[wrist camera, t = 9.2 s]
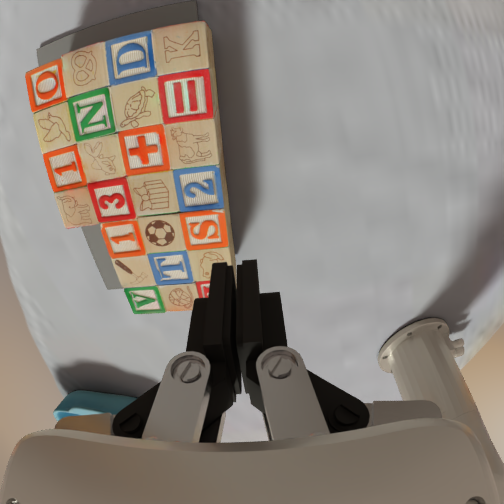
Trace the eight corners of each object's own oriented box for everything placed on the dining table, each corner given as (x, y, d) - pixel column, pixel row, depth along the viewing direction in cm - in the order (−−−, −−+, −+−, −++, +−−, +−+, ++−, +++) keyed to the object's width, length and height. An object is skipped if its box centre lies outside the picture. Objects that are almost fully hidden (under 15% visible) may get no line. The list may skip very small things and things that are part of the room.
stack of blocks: (239, 309, 25) (104, 316, 25) (238, 262, 31) (121, 273, 30) (204, 17, 13) (21, 73, 13) (211, 28, 18) (64, 65, 18)
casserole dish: (45, 369, 43) (33, 402, 37) (160, 384, 45) (155, 423, 39) (108, 443, 64) (105, 466, 58) (189, 452, 66) (188, 476, 60)
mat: (196, 1, 17) (195, 0, 17) (232, 276, 32) (232, 279, 32) (39, 49, 17) (36, 49, 17) (108, 286, 32) (107, 289, 32)
